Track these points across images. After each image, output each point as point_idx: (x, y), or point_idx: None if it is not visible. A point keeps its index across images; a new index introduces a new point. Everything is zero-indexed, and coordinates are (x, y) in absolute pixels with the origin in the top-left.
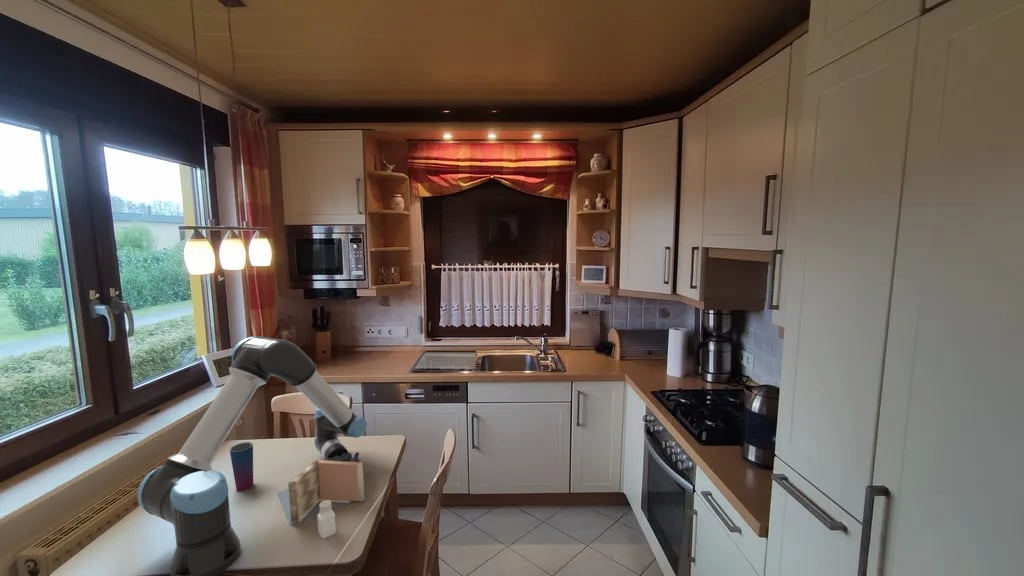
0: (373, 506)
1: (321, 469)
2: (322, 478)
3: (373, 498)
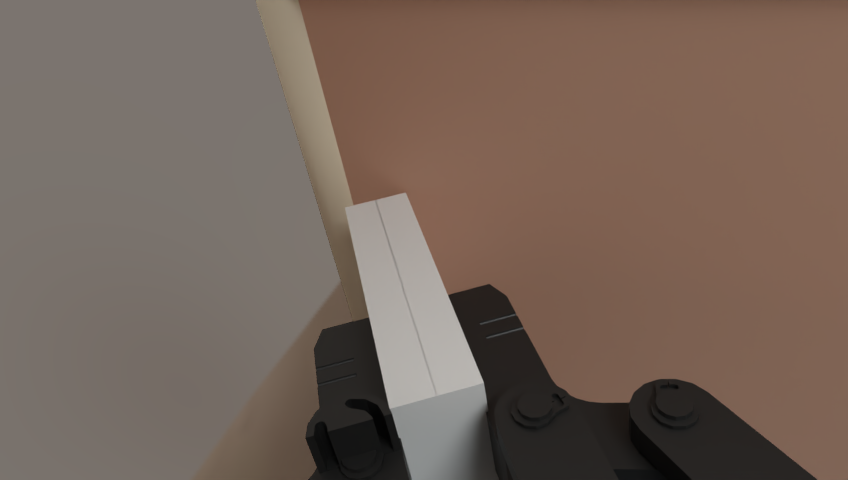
0: (321, 314)
1: None
2: None
3: (284, 402)
